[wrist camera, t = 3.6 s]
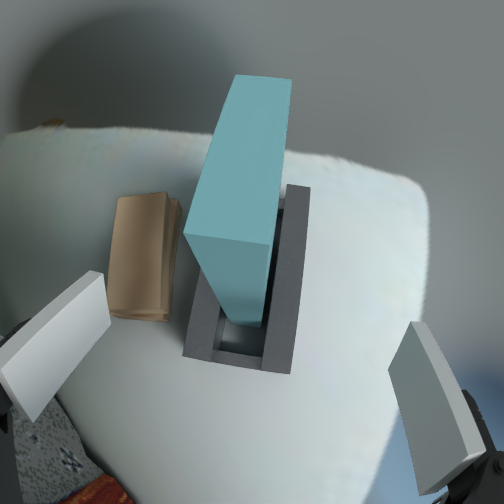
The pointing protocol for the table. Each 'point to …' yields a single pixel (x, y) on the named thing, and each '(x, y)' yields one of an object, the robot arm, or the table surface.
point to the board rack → (281, 306)
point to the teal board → (241, 196)
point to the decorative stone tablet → (58, 463)
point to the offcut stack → (143, 257)
